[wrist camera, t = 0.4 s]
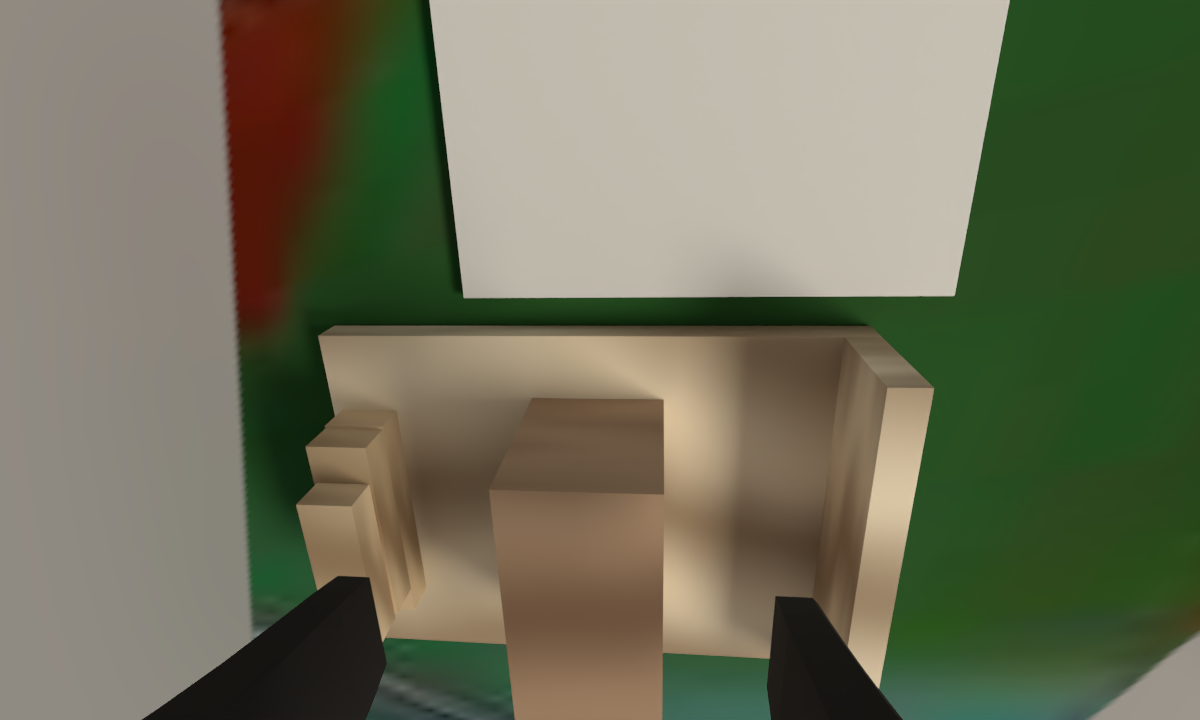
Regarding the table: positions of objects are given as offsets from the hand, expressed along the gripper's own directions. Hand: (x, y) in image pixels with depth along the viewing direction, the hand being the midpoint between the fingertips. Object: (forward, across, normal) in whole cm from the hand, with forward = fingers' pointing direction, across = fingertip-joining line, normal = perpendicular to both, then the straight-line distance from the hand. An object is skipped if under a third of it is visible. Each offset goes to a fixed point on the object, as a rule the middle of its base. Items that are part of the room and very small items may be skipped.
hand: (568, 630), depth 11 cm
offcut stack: (+8, +8, +3) cm, 12 cm away
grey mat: (+9, -3, -9) cm, 13 cm away
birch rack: (+9, +1, +3) cm, 10 cm away
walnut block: (+8, 0, +3) cm, 9 cm away
